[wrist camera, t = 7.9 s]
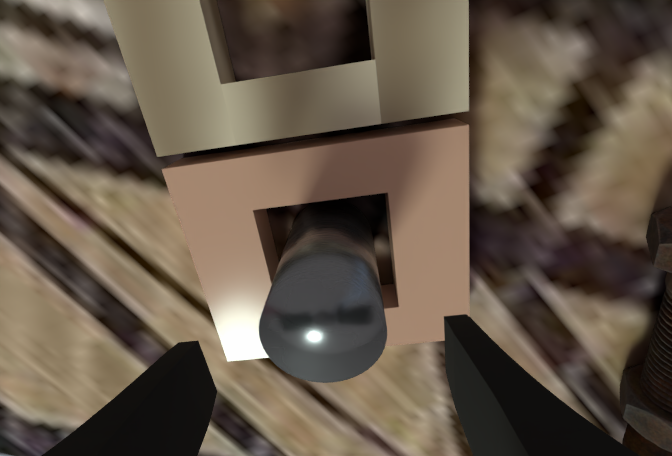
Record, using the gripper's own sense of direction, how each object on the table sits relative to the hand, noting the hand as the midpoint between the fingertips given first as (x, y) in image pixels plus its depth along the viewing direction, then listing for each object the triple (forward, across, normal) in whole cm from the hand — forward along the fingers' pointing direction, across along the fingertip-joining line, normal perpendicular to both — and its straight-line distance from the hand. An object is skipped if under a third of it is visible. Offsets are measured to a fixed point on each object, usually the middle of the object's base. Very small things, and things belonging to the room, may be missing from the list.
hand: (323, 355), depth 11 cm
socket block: (+8, 0, 0) cm, 8 cm away
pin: (+8, 0, 0) cm, 8 cm away
